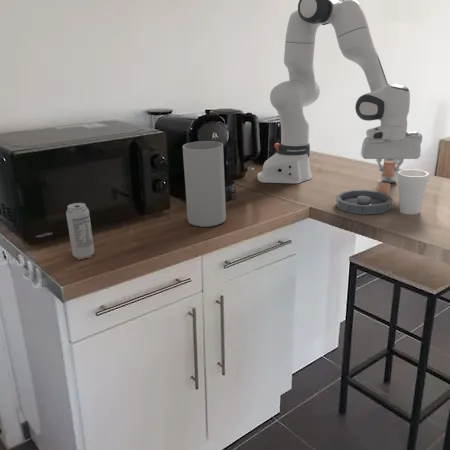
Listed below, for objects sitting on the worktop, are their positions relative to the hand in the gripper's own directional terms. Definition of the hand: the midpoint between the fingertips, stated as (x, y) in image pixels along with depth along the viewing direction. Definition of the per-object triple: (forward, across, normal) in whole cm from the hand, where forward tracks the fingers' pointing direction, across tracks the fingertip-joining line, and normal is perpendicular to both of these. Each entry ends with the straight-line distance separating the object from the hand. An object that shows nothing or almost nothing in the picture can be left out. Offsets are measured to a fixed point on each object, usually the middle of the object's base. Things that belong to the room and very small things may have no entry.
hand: (388, 170), depth 183 cm
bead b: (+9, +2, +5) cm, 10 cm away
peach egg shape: (+2, 0, 0) cm, 2 cm away
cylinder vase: (+10, +64, +25) cm, 69 cm away
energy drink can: (+10, +97, +51) cm, 110 cm away
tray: (+9, +11, +14) cm, 20 cm away
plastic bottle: (+9, -5, -14) cm, 18 cm away
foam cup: (+8, -2, +20) cm, 22 cm away
